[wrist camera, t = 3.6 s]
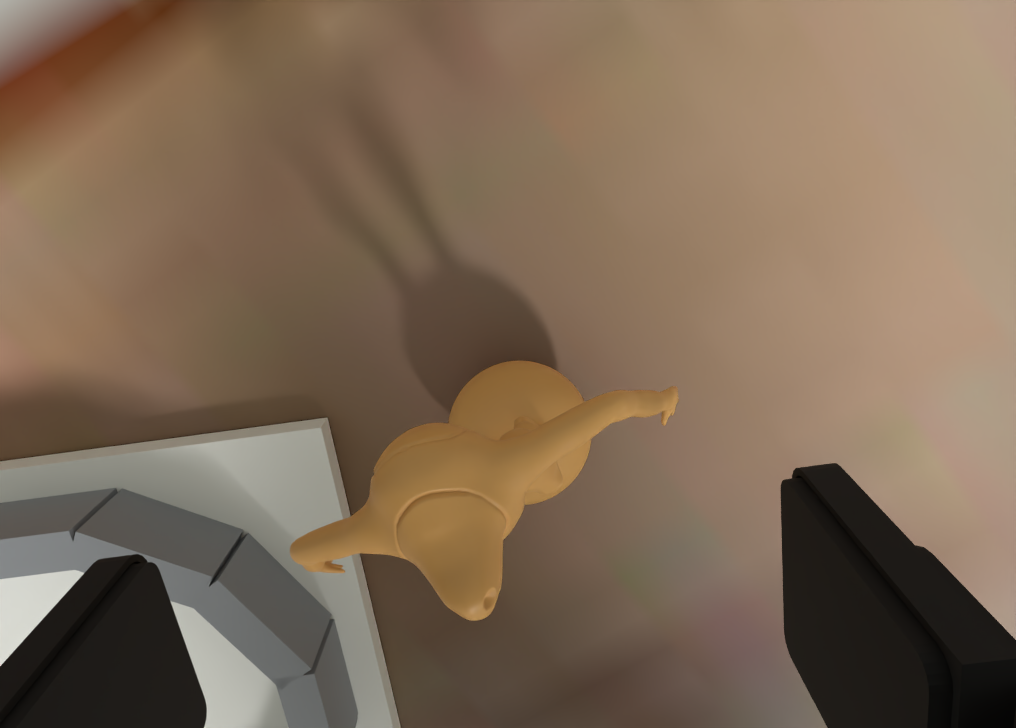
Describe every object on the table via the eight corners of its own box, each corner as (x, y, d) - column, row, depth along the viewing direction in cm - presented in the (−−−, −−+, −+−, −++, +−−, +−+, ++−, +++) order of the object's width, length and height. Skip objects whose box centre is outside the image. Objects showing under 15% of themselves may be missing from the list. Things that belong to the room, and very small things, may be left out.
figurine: (431, 513, 23) (353, 882, 12) (332, 353, 22) (132, 602, 10) (670, 402, 22) (839, 693, 11) (585, 223, 21) (676, 343, 9)
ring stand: (327, 417, 22) (297, 464, 19) (426, 833, 28) (414, 924, 24) (-198, 487, 23) (-310, 544, 20) (-7, 878, 28) (-71, 972, 25)
